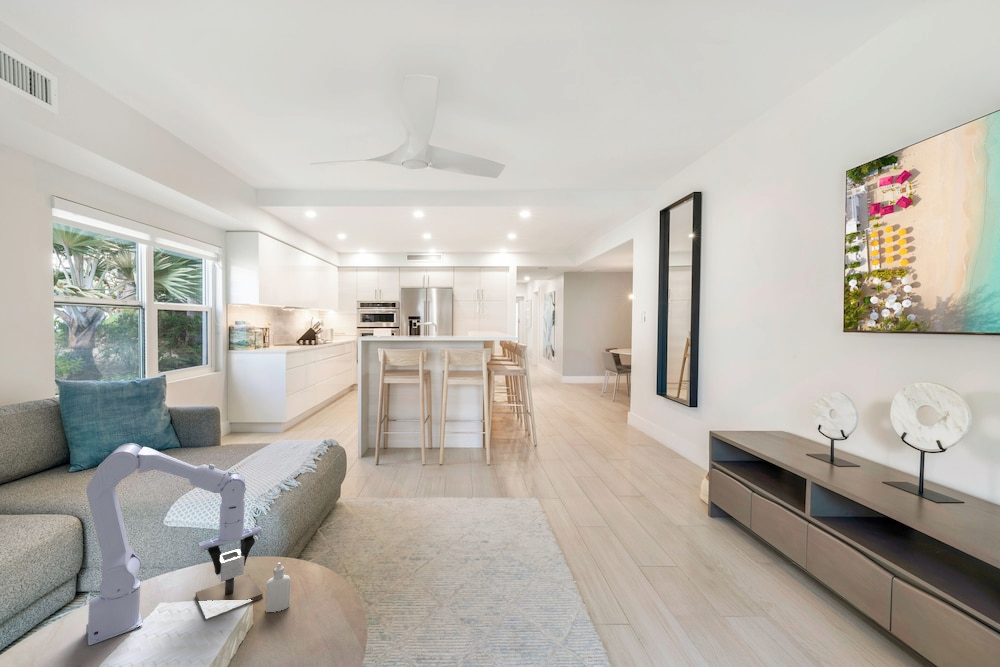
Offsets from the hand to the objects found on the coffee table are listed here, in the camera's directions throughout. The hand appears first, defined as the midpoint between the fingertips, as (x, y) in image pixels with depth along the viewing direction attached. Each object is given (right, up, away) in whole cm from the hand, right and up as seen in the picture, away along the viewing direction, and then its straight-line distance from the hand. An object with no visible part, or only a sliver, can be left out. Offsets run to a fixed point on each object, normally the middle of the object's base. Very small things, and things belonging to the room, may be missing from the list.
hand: (230, 568), depth 113 cm
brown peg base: (0, -8, 0) cm, 8 cm away
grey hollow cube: (0, -2, 0) cm, 2 cm away
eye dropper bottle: (+15, -8, -4) cm, 18 cm away
